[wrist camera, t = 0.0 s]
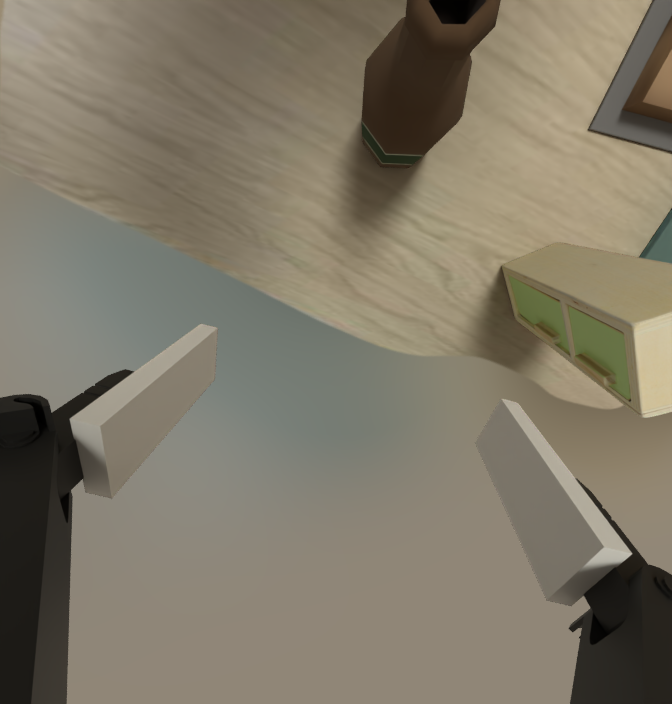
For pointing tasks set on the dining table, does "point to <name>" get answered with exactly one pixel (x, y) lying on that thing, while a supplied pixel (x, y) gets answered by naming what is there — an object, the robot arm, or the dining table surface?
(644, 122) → the mat
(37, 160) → the dining table surface
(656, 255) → the dish
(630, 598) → the robot arm
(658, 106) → the lid cover
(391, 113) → the beer bottle
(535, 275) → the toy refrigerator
